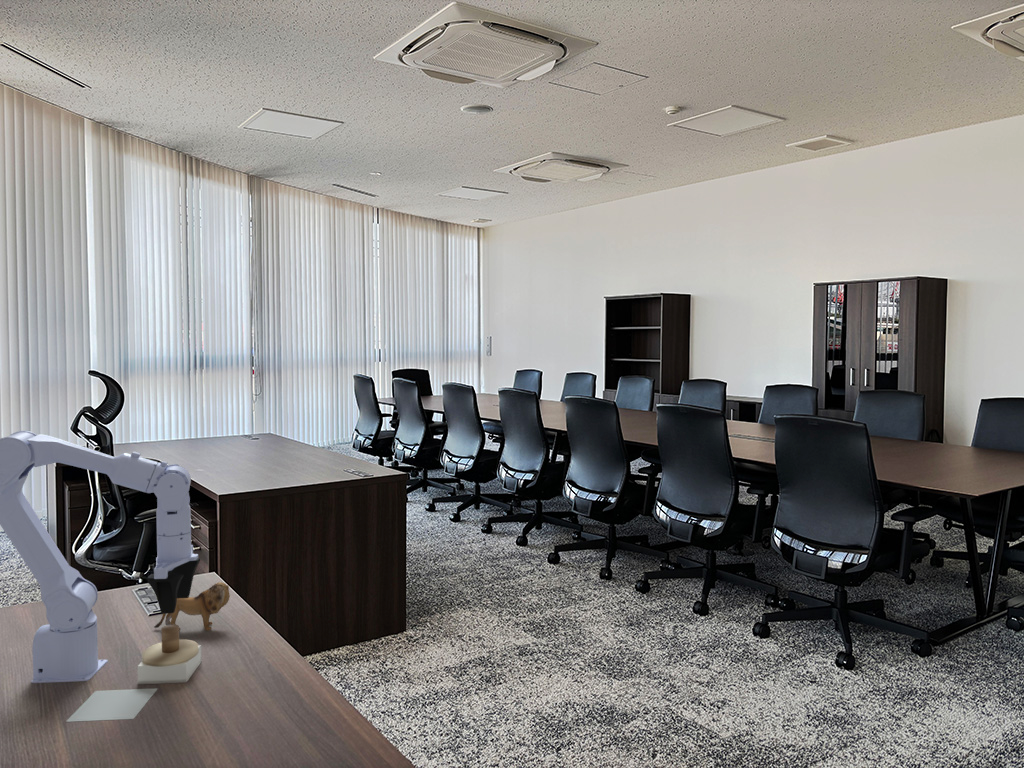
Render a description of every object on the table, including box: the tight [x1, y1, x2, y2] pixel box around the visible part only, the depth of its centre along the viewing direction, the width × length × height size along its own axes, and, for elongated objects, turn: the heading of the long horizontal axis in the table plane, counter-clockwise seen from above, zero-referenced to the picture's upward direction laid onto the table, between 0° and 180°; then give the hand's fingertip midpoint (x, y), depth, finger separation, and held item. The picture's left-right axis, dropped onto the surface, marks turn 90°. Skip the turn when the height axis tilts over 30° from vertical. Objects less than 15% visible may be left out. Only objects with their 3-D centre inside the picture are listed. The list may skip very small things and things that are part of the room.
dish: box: [137, 644, 202, 685], centre depth 130 cm, size 8×8×4 cm
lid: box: [141, 624, 199, 667], centre depth 130 cm, size 9×9×5 cm
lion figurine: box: [153, 581, 231, 632], centre depth 151 cm, size 15×5×9 cm, turn 103°
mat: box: [65, 688, 159, 723], centre depth 119 cm, size 10×10×1 cm
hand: (175, 605), depth 135 cm, fingers open, 7 cm apart
